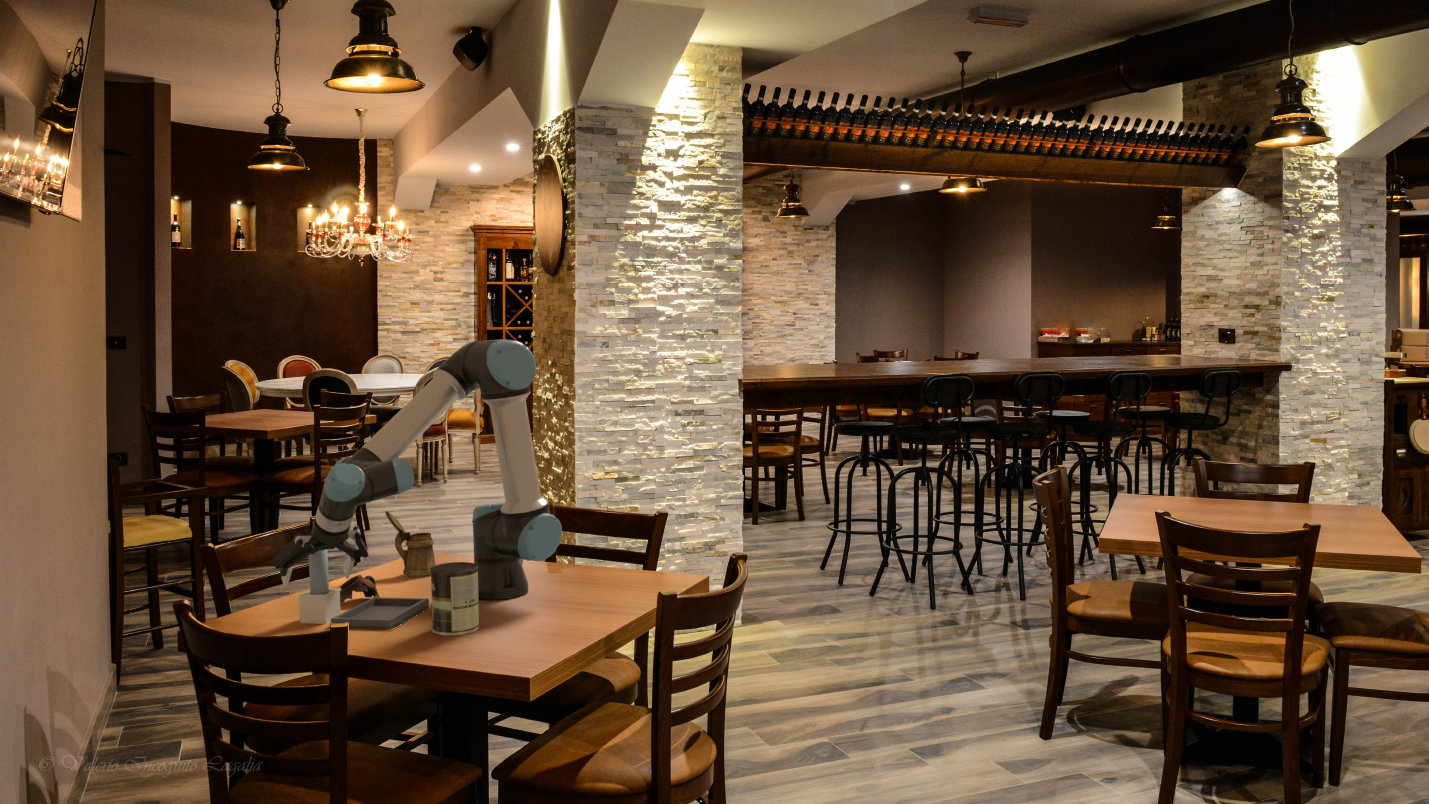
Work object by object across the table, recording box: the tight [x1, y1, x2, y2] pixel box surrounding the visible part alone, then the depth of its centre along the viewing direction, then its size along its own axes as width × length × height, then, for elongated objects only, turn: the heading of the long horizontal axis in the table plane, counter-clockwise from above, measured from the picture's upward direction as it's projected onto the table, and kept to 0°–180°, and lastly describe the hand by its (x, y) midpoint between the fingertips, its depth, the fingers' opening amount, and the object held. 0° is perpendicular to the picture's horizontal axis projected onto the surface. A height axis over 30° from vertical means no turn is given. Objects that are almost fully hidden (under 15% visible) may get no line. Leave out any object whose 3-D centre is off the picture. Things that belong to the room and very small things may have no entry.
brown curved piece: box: [339, 574, 380, 604], centre depth 252 cm, size 12×10×8 cm
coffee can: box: [430, 561, 480, 637], centre depth 226 cm, size 10×10×14 cm
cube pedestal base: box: [298, 588, 341, 625], centre depth 235 cm, size 6×6×7 cm
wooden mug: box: [385, 511, 437, 578], centre depth 284 cm, size 9×14×18 cm, turn 99°
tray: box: [330, 596, 430, 630], centre depth 237 cm, size 14×20×2 cm
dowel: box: [308, 546, 330, 595], centre depth 234 cm, size 4×4×18 cm
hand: (315, 577), depth 234 cm, fingers open, 13 cm apart
